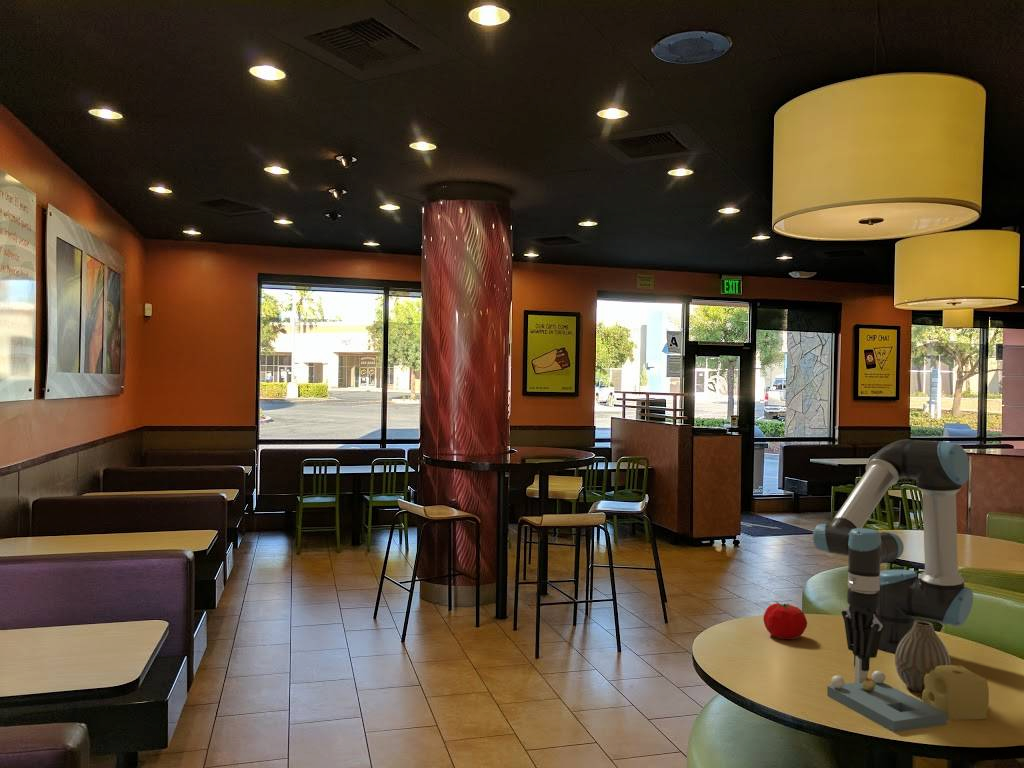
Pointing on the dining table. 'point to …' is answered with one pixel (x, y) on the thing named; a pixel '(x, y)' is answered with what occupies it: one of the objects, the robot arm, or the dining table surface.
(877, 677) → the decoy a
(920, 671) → the vase
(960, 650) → the dining table surface
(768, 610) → the tomato
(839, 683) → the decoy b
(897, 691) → the plate
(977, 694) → the cheese
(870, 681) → the ball
